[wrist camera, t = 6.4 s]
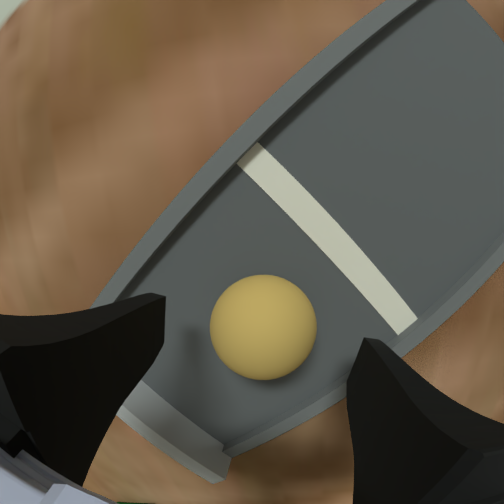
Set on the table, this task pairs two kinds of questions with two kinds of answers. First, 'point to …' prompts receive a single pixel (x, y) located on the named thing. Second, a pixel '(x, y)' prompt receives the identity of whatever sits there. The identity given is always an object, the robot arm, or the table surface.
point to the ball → (263, 327)
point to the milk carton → (130, 503)
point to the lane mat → (328, 224)
